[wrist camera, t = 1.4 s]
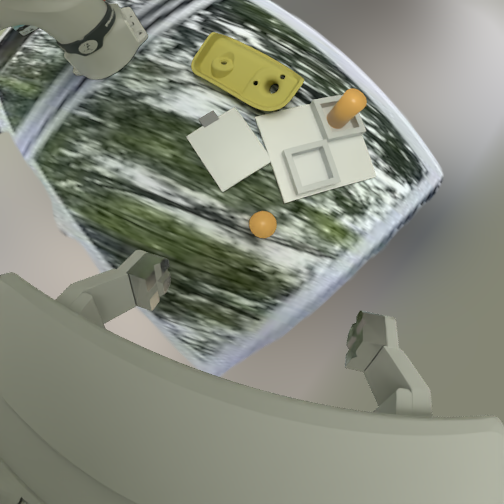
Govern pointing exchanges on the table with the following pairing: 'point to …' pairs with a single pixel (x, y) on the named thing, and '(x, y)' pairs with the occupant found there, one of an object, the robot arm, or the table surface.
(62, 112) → the table surface
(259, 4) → the table surface
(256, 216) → the pin
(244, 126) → the lid
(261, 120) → the housing
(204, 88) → the table surface
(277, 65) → the plastic component
